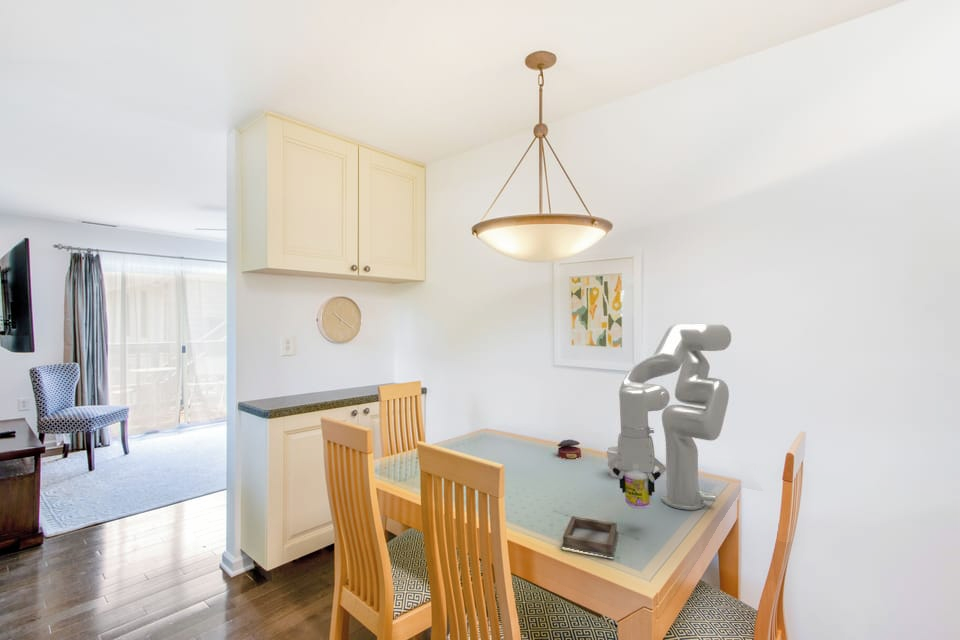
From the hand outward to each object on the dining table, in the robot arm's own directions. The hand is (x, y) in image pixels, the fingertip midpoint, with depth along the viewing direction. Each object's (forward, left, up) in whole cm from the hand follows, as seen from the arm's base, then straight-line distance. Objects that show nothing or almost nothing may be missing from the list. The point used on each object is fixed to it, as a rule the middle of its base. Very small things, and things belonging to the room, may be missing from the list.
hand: (637, 491), depth 126 cm
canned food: (+31, -58, -11) cm, 67 cm away
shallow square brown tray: (+11, +13, -10) cm, 20 cm away
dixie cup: (+9, -41, -11) cm, 44 cm away
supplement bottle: (0, 0, -4) cm, 4 cm away
